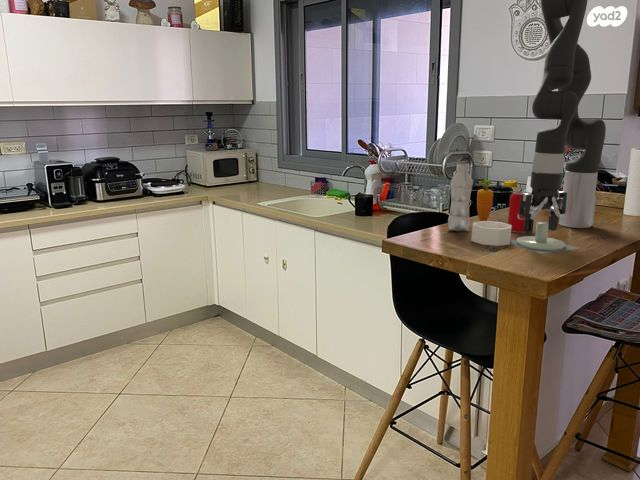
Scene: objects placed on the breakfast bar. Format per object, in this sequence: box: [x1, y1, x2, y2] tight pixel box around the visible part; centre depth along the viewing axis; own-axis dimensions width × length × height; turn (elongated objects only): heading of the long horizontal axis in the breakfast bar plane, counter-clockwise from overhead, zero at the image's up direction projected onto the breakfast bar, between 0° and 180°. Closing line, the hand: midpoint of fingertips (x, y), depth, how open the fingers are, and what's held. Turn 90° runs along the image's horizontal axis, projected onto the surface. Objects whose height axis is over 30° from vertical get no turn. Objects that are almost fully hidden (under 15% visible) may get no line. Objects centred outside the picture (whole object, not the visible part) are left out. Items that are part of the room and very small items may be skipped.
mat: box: [509, 239, 581, 255], centre depth 145 cm, size 14×14×1 cm
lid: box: [516, 221, 566, 251], centre depth 145 cm, size 12×12×6 cm
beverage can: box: [507, 190, 532, 234], centre depth 161 cm, size 6×6×12 cm
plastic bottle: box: [447, 163, 474, 233], centre depth 161 cm, size 6×7×20 cm
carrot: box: [476, 177, 494, 222], centre depth 170 cm, size 5×5×15 cm
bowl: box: [471, 220, 512, 247], centre depth 149 cm, size 10×10×5 cm
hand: (540, 231), depth 144 cm, fingers open, 8 cm apart
